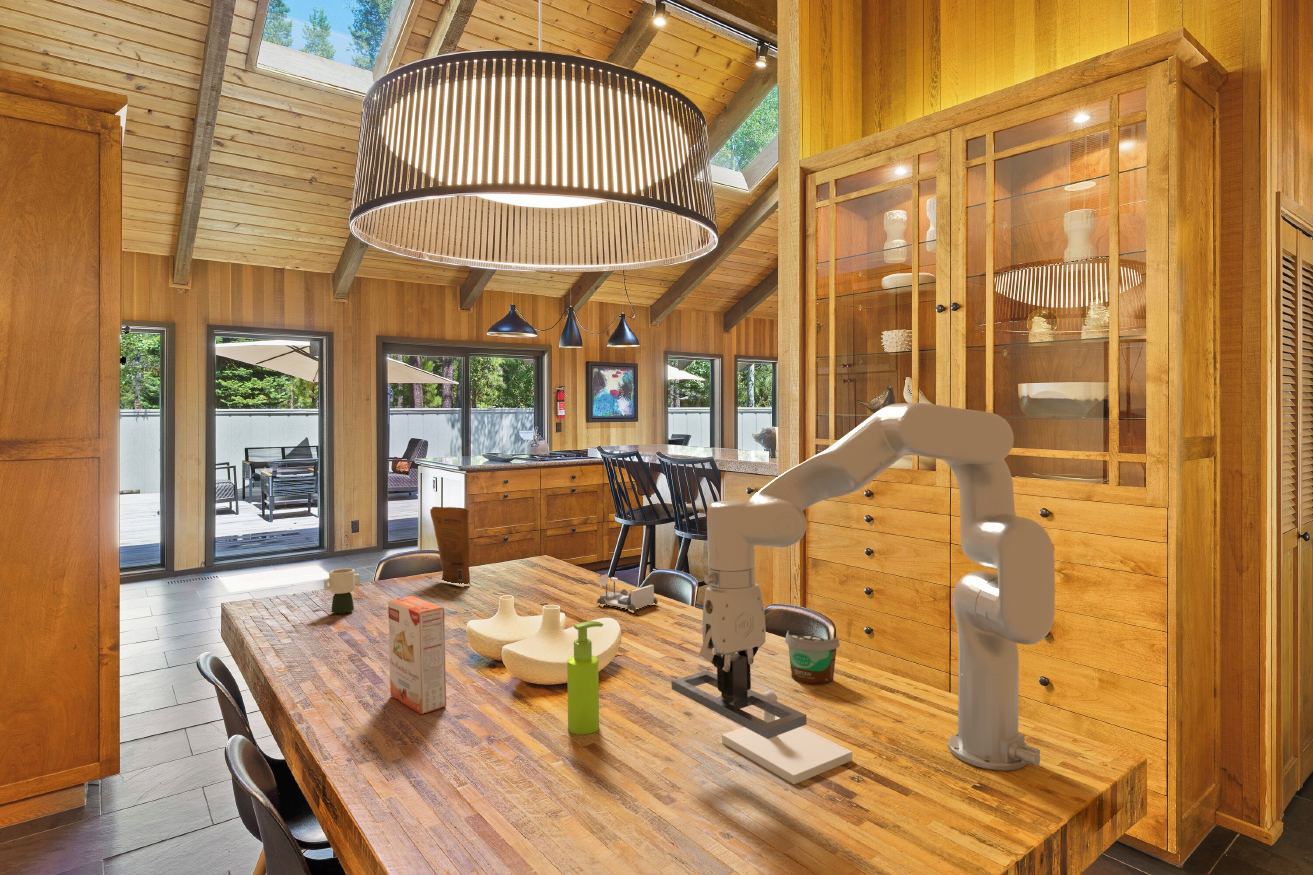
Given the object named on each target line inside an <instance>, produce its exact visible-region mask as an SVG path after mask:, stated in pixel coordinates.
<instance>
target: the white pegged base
mask: <svg viewBox="0 0 1313 875" xmlns="http://www.w3.org/2000/svg"><path fill="white" fill-rule="evenodd" d="M762 695H764V696H766V697H768V698H770V699H773V700H775V701H777V702H778V695H777V694H775V692H773V691H772V690H766V691H764V692H763V694H762ZM777 719H780V718H779V717H777V716H775V715H773V714H771V713H769V712H767V711H764V710H763V721H765V722H767V723H769V722H771V721H774V720H777ZM721 743H722V744H723V745H725V746H726V747H729V748H730V749H732V750H734V751H735V752H737V753H739V754H740V755H742V756H744V757H746V758H747V759H749V760H751V761H753V763H754V762H755V763H757V764H758V765H760V766H761V767H763V768H765V769H766V770H768V771H770V772H771V773H773V774H775V775H776V776H778V777H780V778H782V779H784V780H786V781H787V782H789V783H791V784H792V785H796V784H799V783H801V782H804V781H806V780H808V779H811V778H813V777H816V776H818V775H820V774H822V773H826V772H827V771H830V770H832V769H835V768H838V767H840V766H842V765H844V764H847V763H849V762H851V761H852V762H853V751H852V750H849V749H848V748H846V747H843V746H841V745H840V744H837V743H835V742H833V741H831V740H829V739H828V738H824V737H822V736H821V735H819V734H816V733H815V732H812V731H811V730H808V729H806V728H804V727H803V726H801V727H799V728H796V729H793V730H791V731H788V732H785V733H783V734H780V735H778V736H775V737H772V738H770V739H766V738H764V737H763V736H761V735H759V734H757V733H755V732H753V731H751V730H749V729H747V728H745V727H743V726H742V727H740V728H737V729H734V730H731V731H729V732H726V733H723V734H721Z"/></svg>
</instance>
